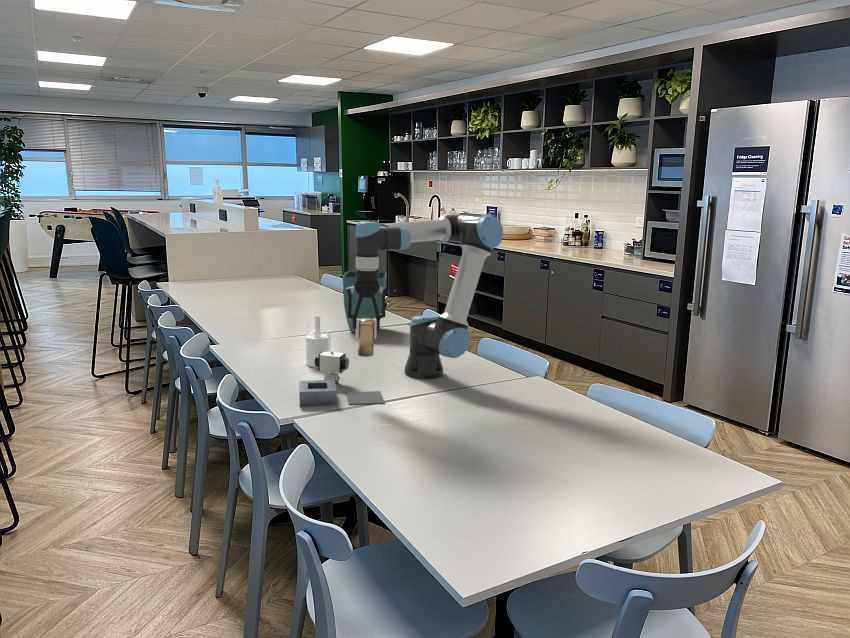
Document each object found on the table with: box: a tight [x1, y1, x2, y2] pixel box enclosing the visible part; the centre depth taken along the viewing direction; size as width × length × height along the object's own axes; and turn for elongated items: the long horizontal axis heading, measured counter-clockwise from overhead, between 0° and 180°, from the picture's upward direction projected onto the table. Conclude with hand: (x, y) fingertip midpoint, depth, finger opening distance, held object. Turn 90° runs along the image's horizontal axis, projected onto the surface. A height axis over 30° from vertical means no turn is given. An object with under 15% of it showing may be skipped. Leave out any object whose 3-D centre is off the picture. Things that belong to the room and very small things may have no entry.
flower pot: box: [342, 270, 388, 333], centre depth 314 cm, size 20×20×28 cm
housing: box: [298, 379, 338, 408], centre depth 212 cm, size 12×12×5 cm
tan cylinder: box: [357, 318, 375, 358], centre depth 212 cm, size 5×5×12 cm
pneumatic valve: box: [315, 350, 350, 384], centre depth 231 cm, size 6×12×12 cm, turn 78°
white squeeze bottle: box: [304, 315, 331, 368], centre depth 253 cm, size 10×9×20 cm
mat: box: [345, 390, 386, 406], centre depth 216 cm, size 12×12×1 cm
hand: (365, 338), depth 212 cm, fingers closed on tan cylinder, 5 cm apart
